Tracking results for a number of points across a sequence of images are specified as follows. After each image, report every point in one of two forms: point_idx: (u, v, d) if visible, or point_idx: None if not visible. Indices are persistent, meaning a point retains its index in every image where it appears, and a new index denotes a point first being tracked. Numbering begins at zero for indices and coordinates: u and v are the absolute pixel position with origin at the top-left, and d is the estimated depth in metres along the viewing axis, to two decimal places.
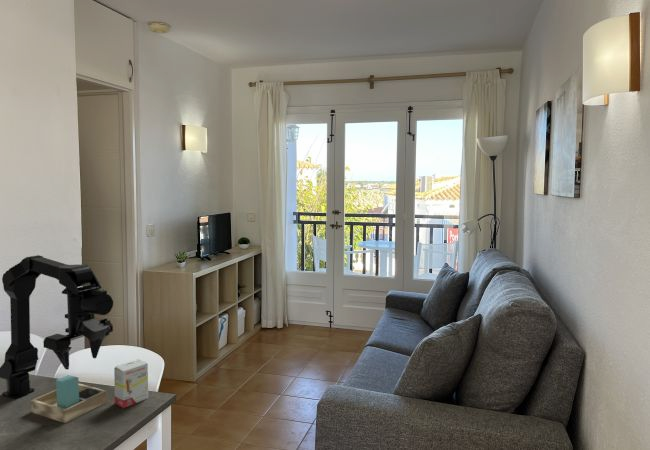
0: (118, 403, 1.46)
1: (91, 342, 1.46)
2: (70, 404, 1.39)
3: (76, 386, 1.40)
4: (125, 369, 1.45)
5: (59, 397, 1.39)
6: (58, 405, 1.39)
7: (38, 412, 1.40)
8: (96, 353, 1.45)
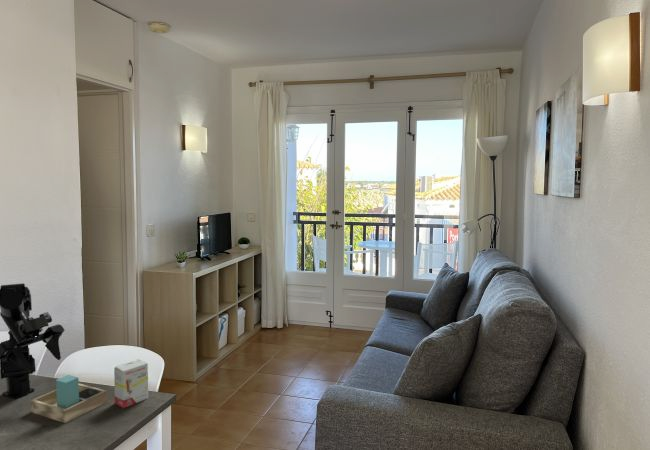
0: (118, 403, 1.46)
1: (50, 349, 1.49)
2: (70, 404, 1.39)
3: (76, 386, 1.40)
4: (125, 369, 1.45)
5: (59, 397, 1.39)
6: (58, 405, 1.39)
7: (38, 412, 1.40)
8: (58, 353, 1.47)
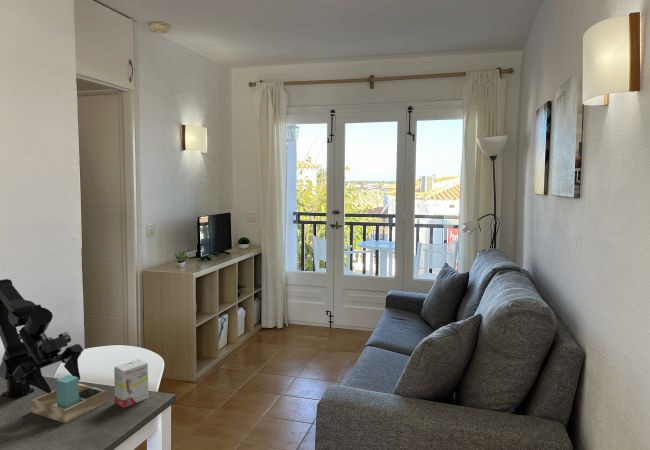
0: (118, 403, 1.46)
1: (69, 369, 1.46)
2: (70, 404, 1.39)
3: (76, 386, 1.40)
4: (125, 369, 1.45)
5: (59, 397, 1.39)
6: (58, 405, 1.39)
7: (38, 412, 1.40)
8: (77, 374, 1.44)
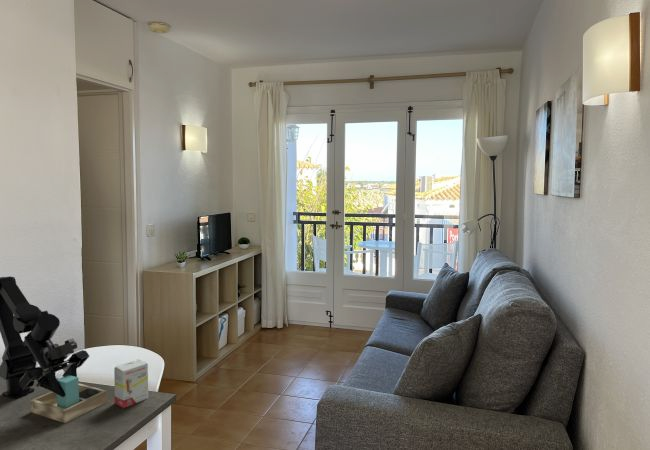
0: (118, 403, 1.46)
1: None
2: (70, 404, 1.39)
3: (76, 386, 1.40)
4: (125, 369, 1.45)
5: (59, 397, 1.39)
6: (58, 405, 1.39)
7: (38, 412, 1.40)
8: None
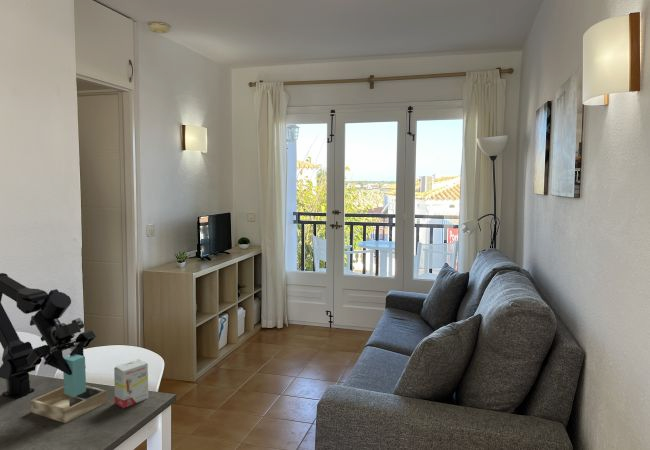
0: (118, 403, 1.46)
1: None
2: (76, 382, 1.40)
3: (83, 365, 1.42)
4: (125, 369, 1.45)
5: (66, 375, 1.40)
6: (65, 383, 1.41)
7: (38, 412, 1.40)
8: None
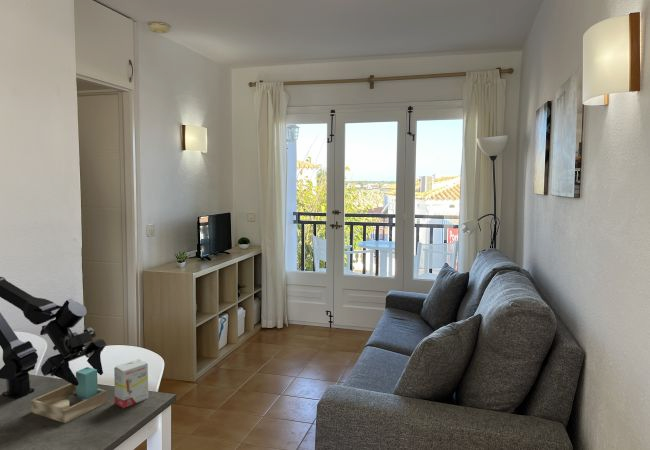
0: (118, 403, 1.46)
1: (92, 364, 1.50)
2: (89, 395, 1.44)
3: (95, 378, 1.46)
4: (125, 369, 1.45)
5: (79, 388, 1.44)
6: (78, 396, 1.45)
7: (38, 412, 1.40)
8: (100, 368, 1.49)
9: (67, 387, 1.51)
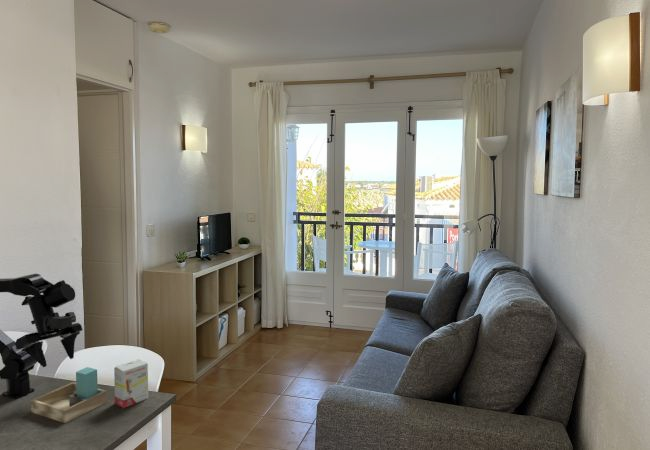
0: (118, 403, 1.46)
1: (65, 346, 1.53)
2: (89, 395, 1.44)
3: (95, 378, 1.46)
4: (125, 369, 1.45)
5: (79, 388, 1.44)
6: (78, 396, 1.45)
7: (38, 412, 1.40)
8: (72, 353, 1.52)
9: (67, 387, 1.51)
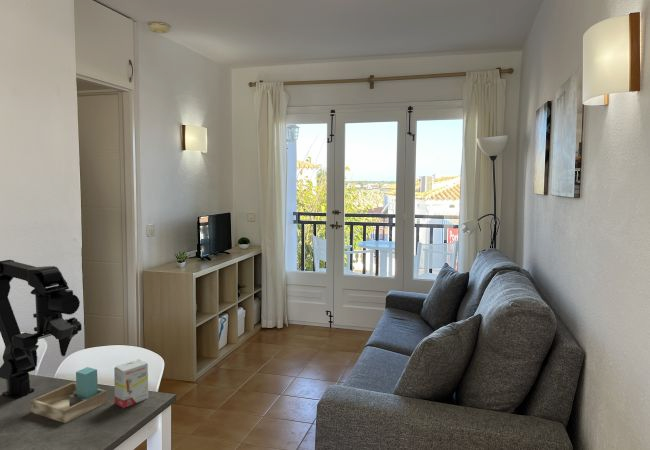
0: (118, 403, 1.46)
1: (60, 341, 1.51)
2: (89, 395, 1.44)
3: (95, 378, 1.46)
4: (125, 369, 1.45)
5: (79, 388, 1.44)
6: (78, 396, 1.45)
7: (38, 412, 1.40)
8: (65, 351, 1.51)
9: (67, 387, 1.51)
